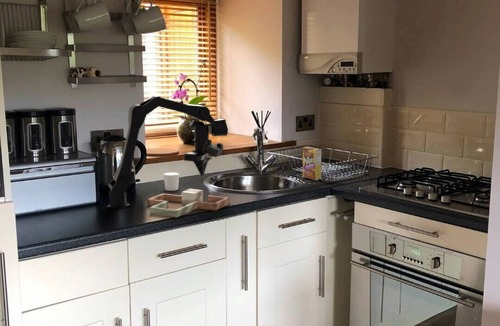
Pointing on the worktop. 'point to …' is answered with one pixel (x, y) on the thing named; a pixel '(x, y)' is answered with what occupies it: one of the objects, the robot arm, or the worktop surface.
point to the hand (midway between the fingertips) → (202, 175)
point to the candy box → (311, 162)
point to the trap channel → (160, 206)
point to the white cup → (171, 181)
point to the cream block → (192, 196)
